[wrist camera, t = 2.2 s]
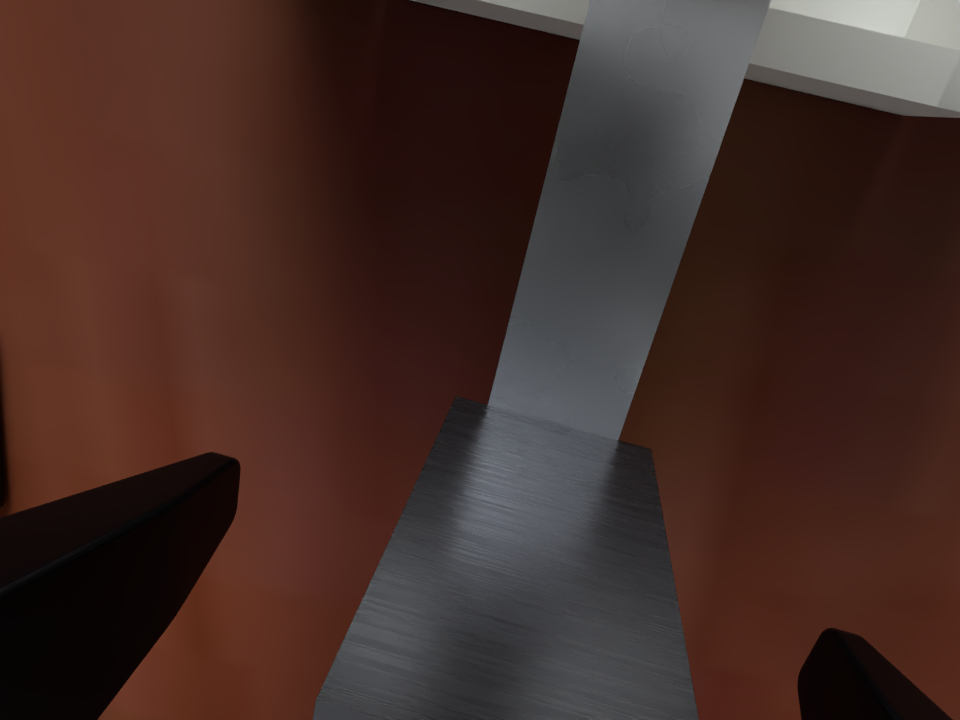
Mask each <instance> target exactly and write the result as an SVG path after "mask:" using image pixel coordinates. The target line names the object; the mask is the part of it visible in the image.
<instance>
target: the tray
mask: <svg viewBox="0 0 960 720" xmlns="http://www.w3.org/2000/svg"><path fill="white" fill-rule="evenodd" d="M411 1H415V2H420V3H424V4H428V5H433V6H437V7H441V8H445V9H450V10H454V11H458V12H462V13H467V14H471V15H475V16H480V17H484V18H488V19H492V20H497V21H501V22H505V23H509V24H514V25H518V26H522V27H527V28H531V29H535V30H539V31H544V32H548V33H552V34H556V35H561V36H565V37H569V38H574V39H578V40H580V38H581V34H582V30H583V26H584V22H585V18H586V15H587V11H588V7H589V3H590V0H411ZM744 78H745V79H749V80H753V81H757V82H762V83H766V84H770V85H774V86H779V87H783V88H787V89H792V90H796V91H800V92H804V93H809V94H813V95H817V96H821V97H826V98H830V99H834V100H839V101H843V102H847V103H851V104H856V105H860V106H864V107H869V108H873V109H877V110H881V111H886V112H890V113H894V114H898V115H903V116H923V117H949V118H960V0H771V2H770V5H769V8H768V11H767V13H766V16H765V19H764V22H763V25H762V28H761V31H760V34H759V36H758V39H757V42H756V45H755V48H754V51H753V54H752V57H751V59H750V62H749V65H748V68H747V71H746V74H745V77H744Z"/></svg>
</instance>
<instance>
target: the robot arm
mask: <svg viewBox="0 0 960 720" xmlns="http://www.w3.org/2000/svg"><path fill="white" fill-rule="evenodd" d="M239 480H240V463H239V462H238V460H237V459H235V458H232V457H229V456H225V455H222V454H218V453H215V452H209V453H205V454H202V455H199V456H196V457H192V458H189V459H186V460H183V461H180V462H176V463H173V464H170V465H167V466H164V467H161V468H157V469H154V470H151V471H148V472H145V473H141V474H138V475H135V476H132V477H129V478H126V479H122V480H119V481H116V482H113V483H110V484H106V485H103V486H100V487H97V488H94V489H91V490H87V491H84V492H81V493H78V494H75V495H71V496H68V497H65V498H62V499H59V500H55V501H52V502H49V503H46V504H43V505H40V506H36V507H33V508H30V509H27V510H24V511H20V512H17V513H14V514H11V515H8V516H4V517H1V518H0V720H98V718H99V717H100V716H101V714H102V713H103V712H104V710H105V709H106V708H107V706H108V705H109V704H110V702H111V701H112V700H113V698H114V697H115V696H116V695H117V693H118V692H119V691H120V689H121V688H122V687H123V685H124V684H125V683H126V681H127V680H128V679H129V677H130V676H131V675H132V673H133V672H134V671H135V669H136V668H137V667H138V666H139V664H140V663H141V662H142V660H143V659H144V658H145V656H146V655H147V654H148V652H149V651H150V650H151V648H152V647H153V646H154V644H155V643H156V642H157V641H158V639H159V638H160V637H161V635H162V634H163V633H164V631H165V630H166V629H167V627H168V626H169V624H170V623H171V622H172V620H173V619H174V617H175V616H176V615H177V613H178V611H179V610H180V608H181V607H182V605H183V604H184V602H185V600H186V599H187V597H188V595H189V594H190V592H191V590H192V589H193V587H194V585H195V584H196V582H197V580H198V579H199V577H200V575H201V574H202V572H203V571H204V569H205V567H206V566H207V564H208V562H209V561H210V559H211V557H212V556H213V554H214V552H215V551H216V549H217V547H218V546H219V544H220V542H221V541H222V539H223V537H224V536H225V534H226V532H227V531H228V529H229V527H230V526H231V524H232V522H233V519H234V517H235V514H236V510H237V502H238V491H239ZM3 505H4V491H3V478H2V465H1V452H0V508H1V507H2V506H3ZM798 697H799V704H800V711H801V719H802V720H952V719H951V718H950V717H949V716H948V715H947V714H946V713H945V712H944V711H943V710H941V709H940V708H939V707H938V706H937V705H936V704H935V703H934V702H933V701H932V700H931V699H929V698H928V697H927V696H926V695H925V694H924V693H923V692H922V691H921V690H920V689H918V688H917V687H916V686H915V685H914V684H913V683H912V682H911V681H910V680H909V679H908V678H906V677H905V676H904V675H903V674H902V673H901V672H900V671H899V670H898V669H897V668H896V667H894V666H893V665H892V664H891V663H890V662H889V661H888V660H887V659H886V658H885V657H883V656H882V655H881V654H880V653H879V652H878V651H877V650H876V649H875V648H874V647H873V646H871V645H870V644H869V643H868V642H867V641H866V640H865V639H864V638H862V637H861V636H859V635H856V634H853V633H849V632H846V631H842V630H839V629H835V628H828V629H825V630H824V631H823V632H822V633H821V635H820V636H819V638H818V640H817V641H816V643H815V645H814V647H813V648H812V650H811V652H810V654H809V656H808V657H807V659H806V661H805V663H804V664H803V666H802V668H801V670H800V673H799V676H798Z"/></svg>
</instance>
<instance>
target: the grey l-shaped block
mask: <svg viewBox="0 0 960 720" xmlns="http://www.w3.org/2000/svg"><path fill="white" fill-rule="evenodd" d="M770 2H771V0H590V3H589V7H588V11H587V15H586V18H585V22H584V26H583V30H582V34H581V38H580V42H579V46H578V50H577V54H576V58H575V62H574V66H573V70H572V74H571V78H570V82H569V86H568V90H567V94H566V98H565V102H564V106H563V110H562V114H561V118H560V122H559V125H558V129H557V133H556V137H555V141H554V145H553V149H552V153H551V157H550V161H549V165H548V169H547V173H546V177H545V181H544V185H543V189H542V193H541V197H540V201H539V205H538V209H537V213H536V217H535V221H534V225H533V229H532V232H531V236H530V240H529V244H528V248H527V252H526V256H525V260H524V264H523V268H522V272H521V276H520V280H519V284H518V288H517V292H516V296H515V300H514V304H513V308H512V312H511V316H510V320H509V324H508V328H507V332H506V336H505V339H504V343H503V347H502V351H501V355H500V359H499V363H498V367H497V371H496V375H495V379H494V383H493V387H492V391H491V395H490V399H489V403H488V405H487V404H483V403H479V402H476V401H472V400H468V399H464V398H461V397H457V396H456V397H455V399H454V402H453V404H452V406H451V408H450V410H449V412H448V415H447V417H446V419H445V421H444V423H443V425H442V428H441V430H440V432H439V434H438V436H437V438H436V441H435V443H434V445H433V447H432V449H431V452H430V454H429V456H428V458H427V460H426V462H425V465H424V467H423V469H422V471H421V473H420V475H419V478H418V480H417V482H416V484H415V486H414V488H413V491H412V493H411V495H410V497H409V499H408V502H407V504H406V506H405V508H404V510H403V512H402V515H401V517H400V519H399V521H398V523H397V525H396V528H395V530H394V532H393V534H392V536H391V538H390V541H389V543H388V545H387V547H386V549H385V552H384V554H383V556H382V558H381V560H380V562H379V565H378V567H377V569H376V571H375V573H374V575H373V578H372V580H371V582H370V584H369V586H368V588H367V591H366V593H365V595H364V597H363V599H362V602H361V604H360V606H359V608H358V610H357V612H356V615H355V617H354V619H353V621H352V623H351V625H350V628H349V630H348V632H347V634H346V636H345V638H344V641H343V643H342V645H341V647H340V649H339V651H338V654H337V656H336V658H335V660H334V662H333V665H332V667H331V669H330V671H329V673H328V675H327V678H326V680H325V682H324V684H323V686H322V688H321V691H320V693H319V695H318V697H317V699H316V704H315V709H314V715H313V720H699V719H698V713H697V707H696V702H695V696H694V690H693V685H692V679H691V673H690V667H689V662H688V656H687V650H686V645H685V639H684V633H683V628H682V622H681V616H680V610H679V605H678V599H677V593H676V588H675V582H674V576H673V571H672V565H671V559H670V554H669V548H668V542H667V536H666V531H665V525H664V519H663V514H662V508H661V502H660V497H659V491H658V485H657V479H656V474H655V468H654V462H653V457H652V451H651V449H649V448H645V447H641V446H638V445H634V444H630V443H627V442H623V441H619V440H618V439H619V436H620V433H621V431H622V428H623V425H624V422H625V419H626V416H627V413H628V410H629V407H630V405H631V402H632V399H633V396H634V393H635V390H636V387H637V384H638V382H639V379H640V376H641V373H642V370H643V367H644V364H645V361H646V359H647V356H648V353H649V350H650V347H651V344H652V341H653V338H654V336H655V333H656V330H657V327H658V324H659V321H660V318H661V315H662V313H663V310H664V307H665V304H666V301H667V298H668V295H669V292H670V290H671V287H672V284H673V281H674V278H675V275H676V272H677V269H678V267H679V264H680V261H681V258H682V255H683V252H684V249H685V246H686V244H687V241H688V238H689V235H690V232H691V229H692V226H693V223H694V221H695V218H696V215H697V212H698V209H699V206H700V203H701V200H702V198H703V195H704V192H705V189H706V186H707V183H708V180H709V177H710V175H711V172H712V169H713V166H714V163H715V160H716V157H717V154H718V151H719V149H720V146H721V143H722V140H723V137H724V134H725V131H726V128H727V126H728V123H729V120H730V117H731V114H732V111H733V108H734V105H735V103H736V100H737V97H738V94H739V91H740V88H741V85H742V82H743V80H744V77H745V74H746V71H747V68H748V65H749V62H750V59H751V57H752V54H753V51H754V48H755V45H756V42H757V39H758V36H759V34H760V31H761V28H762V25H763V22H764V19H765V16H766V13H767V11H768V8H769V5H770Z"/></svg>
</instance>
